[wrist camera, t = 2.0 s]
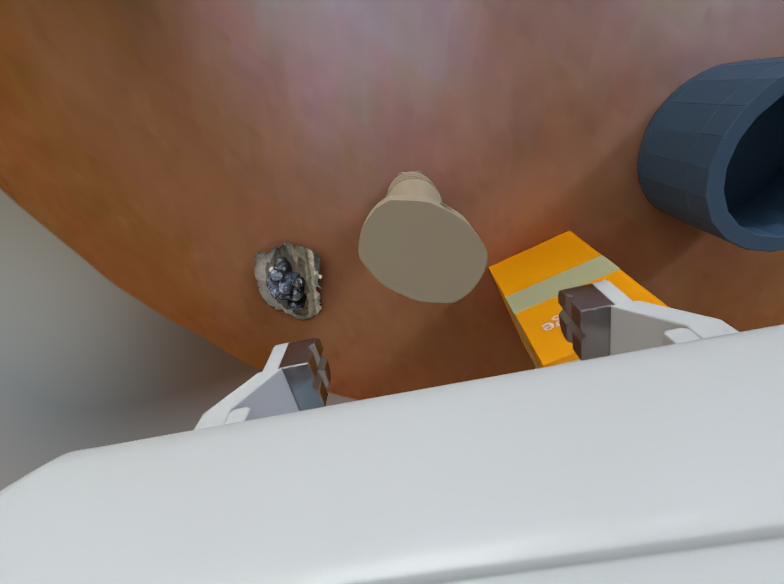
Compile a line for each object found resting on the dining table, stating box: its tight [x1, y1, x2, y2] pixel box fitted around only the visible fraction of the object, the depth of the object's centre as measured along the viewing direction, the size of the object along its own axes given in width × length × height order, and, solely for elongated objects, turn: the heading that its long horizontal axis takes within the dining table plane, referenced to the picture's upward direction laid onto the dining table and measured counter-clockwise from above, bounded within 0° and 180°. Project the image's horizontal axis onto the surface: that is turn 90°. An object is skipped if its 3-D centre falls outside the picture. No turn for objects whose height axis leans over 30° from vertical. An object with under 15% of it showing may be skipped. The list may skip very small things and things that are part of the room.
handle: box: [358, 171, 487, 303], centre depth 27 cm, size 5×6×15 cm
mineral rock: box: [254, 242, 322, 320], centre depth 36 cm, size 7×8×2 cm
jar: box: [638, 57, 784, 252], centre depth 28 cm, size 12×12×8 cm
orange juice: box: [489, 230, 668, 369], centre depth 28 cm, size 8×9×20 cm
